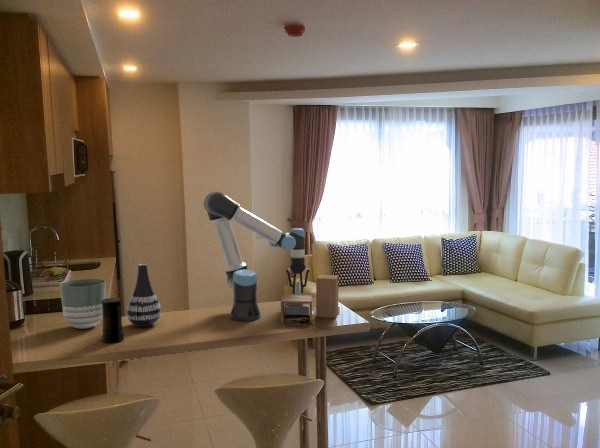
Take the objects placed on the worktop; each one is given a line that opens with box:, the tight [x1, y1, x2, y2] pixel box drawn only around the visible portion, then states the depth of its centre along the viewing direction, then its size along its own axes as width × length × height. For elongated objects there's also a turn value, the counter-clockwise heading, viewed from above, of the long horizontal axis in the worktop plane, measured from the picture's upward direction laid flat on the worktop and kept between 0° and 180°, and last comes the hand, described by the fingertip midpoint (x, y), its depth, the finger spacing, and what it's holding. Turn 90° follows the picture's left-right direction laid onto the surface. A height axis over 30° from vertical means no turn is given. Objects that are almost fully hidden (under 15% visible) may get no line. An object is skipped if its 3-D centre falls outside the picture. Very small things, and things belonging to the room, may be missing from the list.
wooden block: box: [315, 274, 339, 319], centre depth 263 cm, size 10×10×20 cm
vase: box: [126, 263, 162, 329], centre depth 246 cm, size 16×16×30 cm
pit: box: [285, 322, 308, 328], centre depth 246 cm, size 5×10×1 cm, turn 89°
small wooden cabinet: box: [284, 279, 310, 317], centre depth 274 cm, size 23×12×14 cm, turn 179°
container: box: [101, 297, 124, 345], centre depth 223 cm, size 9×9×18 cm
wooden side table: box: [280, 294, 313, 324], centre depth 257 cm, size 14×15×10 cm
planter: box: [59, 278, 107, 330], centre depth 244 cm, size 20×20×21 cm
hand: (298, 299), depth 283 cm, fingers closed on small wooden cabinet, 2 cm apart
